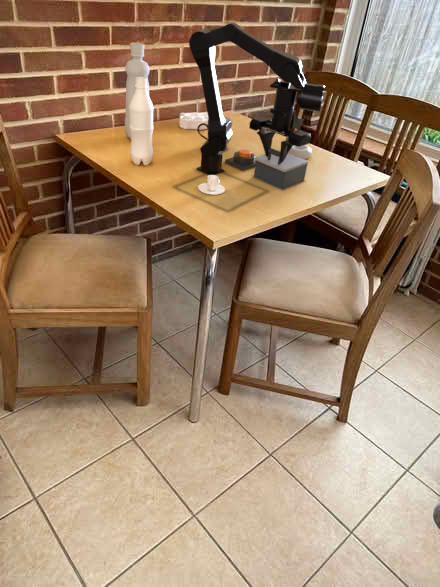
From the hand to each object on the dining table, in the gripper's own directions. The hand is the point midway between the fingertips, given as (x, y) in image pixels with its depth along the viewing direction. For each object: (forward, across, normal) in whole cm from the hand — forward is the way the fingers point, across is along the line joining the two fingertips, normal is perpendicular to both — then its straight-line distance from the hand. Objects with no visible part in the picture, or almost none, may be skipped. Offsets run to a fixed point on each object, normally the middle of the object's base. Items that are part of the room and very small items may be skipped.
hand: (274, 159), depth 138 cm
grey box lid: (+2, 0, -4) cm, 4 cm away
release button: (+5, +15, -4) cm, 16 cm away
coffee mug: (+8, +31, -6) cm, 33 cm away
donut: (+8, +9, -27) cm, 30 cm away
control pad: (+7, +15, -4) cm, 17 cm away
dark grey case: (+7, 0, -4) cm, 9 cm away
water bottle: (+8, +34, +24) cm, 42 cm away
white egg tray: (+8, +52, -20) cm, 56 cm away
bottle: (+8, +52, +11) cm, 54 cm away
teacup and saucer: (+8, +6, +17) cm, 19 cm away
